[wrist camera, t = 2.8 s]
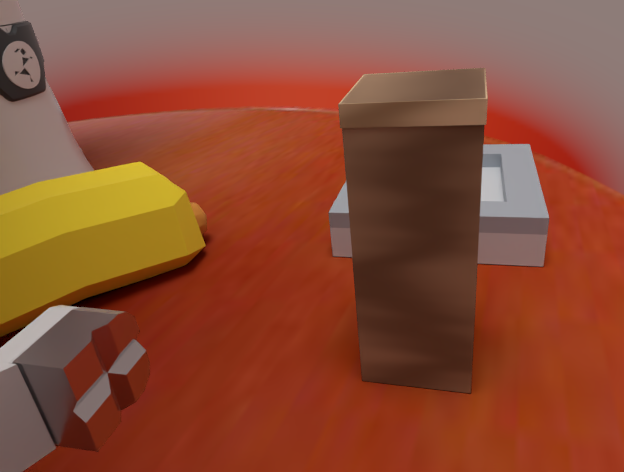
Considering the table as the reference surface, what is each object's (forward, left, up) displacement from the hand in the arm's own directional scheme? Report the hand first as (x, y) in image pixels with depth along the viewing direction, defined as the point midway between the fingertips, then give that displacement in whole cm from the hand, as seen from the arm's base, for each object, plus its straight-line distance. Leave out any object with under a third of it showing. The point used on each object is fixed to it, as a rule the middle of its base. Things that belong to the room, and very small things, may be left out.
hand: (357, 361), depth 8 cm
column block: (0, +12, -10) cm, 16 cm away
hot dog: (-21, +15, -11) cm, 28 cm away
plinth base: (0, +26, -10) cm, 28 cm away
